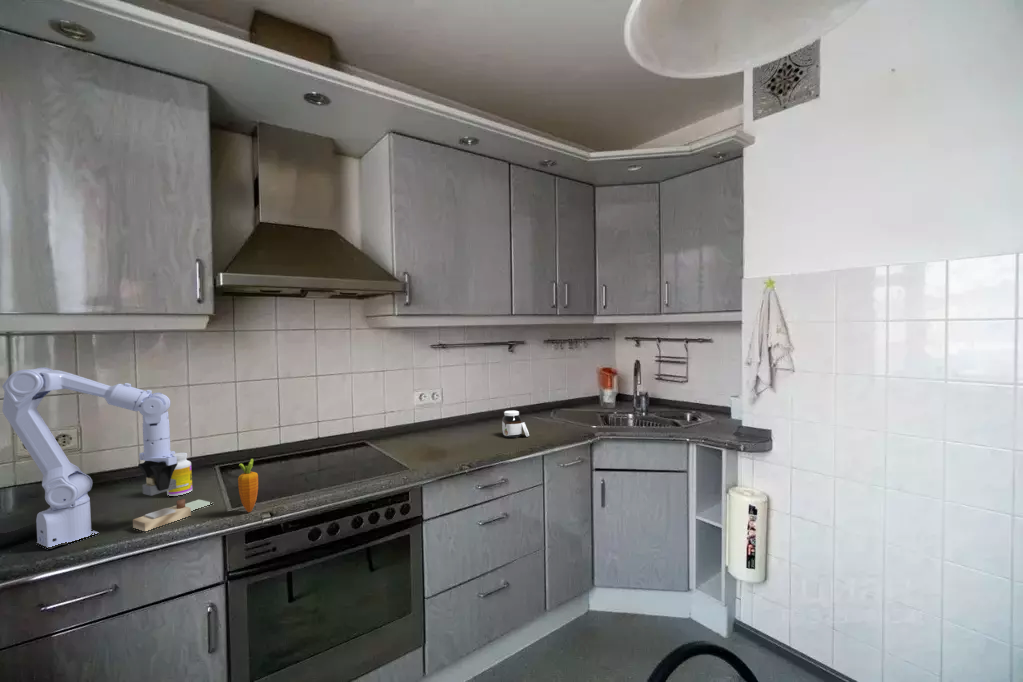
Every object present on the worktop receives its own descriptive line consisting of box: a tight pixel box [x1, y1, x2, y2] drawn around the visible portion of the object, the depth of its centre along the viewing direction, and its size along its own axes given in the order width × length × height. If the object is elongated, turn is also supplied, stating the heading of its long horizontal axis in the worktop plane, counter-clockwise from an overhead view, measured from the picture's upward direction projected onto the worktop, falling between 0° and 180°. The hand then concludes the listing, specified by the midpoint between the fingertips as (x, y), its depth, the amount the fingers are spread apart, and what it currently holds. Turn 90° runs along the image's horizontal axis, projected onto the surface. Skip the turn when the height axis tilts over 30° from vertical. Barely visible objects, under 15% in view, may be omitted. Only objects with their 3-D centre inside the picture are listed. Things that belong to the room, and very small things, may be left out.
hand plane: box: [132, 498, 192, 531], centre depth 124 cm, size 11×6×4 cm, turn 153°
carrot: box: [237, 458, 259, 513], centre depth 129 cm, size 5×5×15 cm
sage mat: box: [185, 499, 213, 512], centre depth 135 cm, size 8×8×1 cm
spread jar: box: [501, 410, 530, 439], centre depth 212 cm, size 12×11×12 cm
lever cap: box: [142, 476, 176, 496], centre depth 123 cm, size 6×4×4 cm, turn 153°
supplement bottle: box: [166, 452, 193, 497], centre depth 147 cm, size 7×7×13 cm
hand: (159, 488), depth 123 cm, fingers closed on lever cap, 4 cm apart
